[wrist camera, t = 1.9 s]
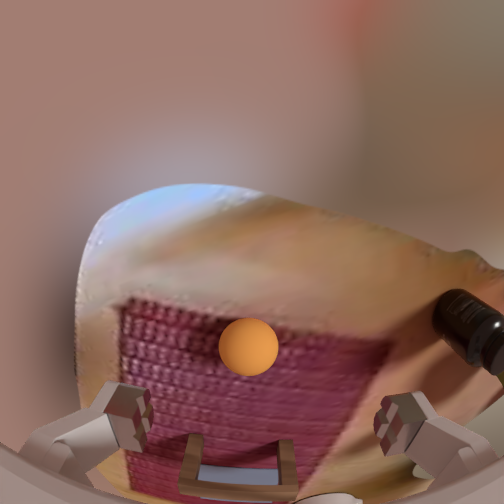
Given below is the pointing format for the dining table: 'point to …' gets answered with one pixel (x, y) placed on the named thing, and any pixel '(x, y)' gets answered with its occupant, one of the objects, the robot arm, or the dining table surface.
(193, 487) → the bridge
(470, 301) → the supplement bottle
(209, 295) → the dining table surface
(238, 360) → the ball
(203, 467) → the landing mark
